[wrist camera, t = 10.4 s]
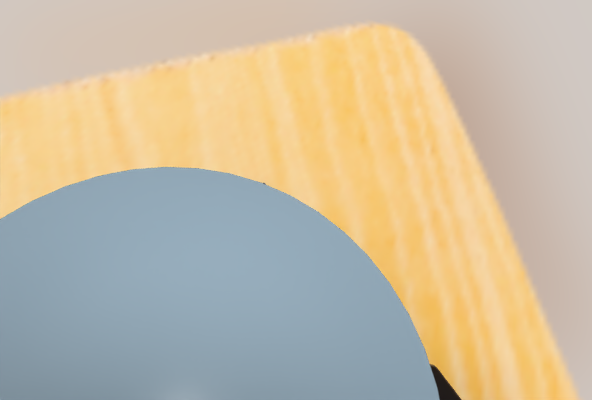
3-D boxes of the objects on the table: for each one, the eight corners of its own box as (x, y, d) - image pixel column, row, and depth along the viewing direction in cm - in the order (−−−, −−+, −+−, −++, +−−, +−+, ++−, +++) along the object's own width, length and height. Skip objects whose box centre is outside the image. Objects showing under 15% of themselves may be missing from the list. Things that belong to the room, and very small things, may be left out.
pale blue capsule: (225, 496, 15) (16, 1190, 3) (135, 364, 16) (-297, 409, 4) (343, 383, 16) (569, 482, 4) (252, 269, 17) (212, 81, 5)
